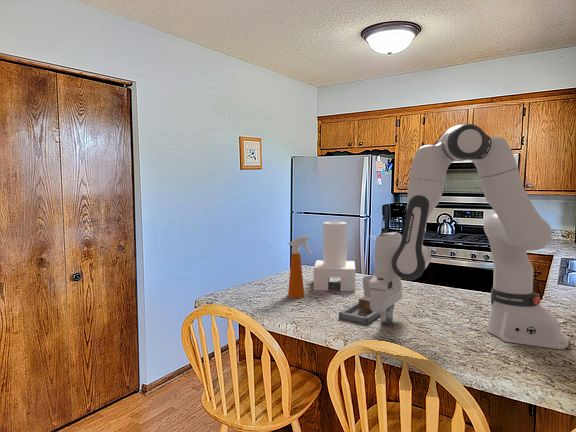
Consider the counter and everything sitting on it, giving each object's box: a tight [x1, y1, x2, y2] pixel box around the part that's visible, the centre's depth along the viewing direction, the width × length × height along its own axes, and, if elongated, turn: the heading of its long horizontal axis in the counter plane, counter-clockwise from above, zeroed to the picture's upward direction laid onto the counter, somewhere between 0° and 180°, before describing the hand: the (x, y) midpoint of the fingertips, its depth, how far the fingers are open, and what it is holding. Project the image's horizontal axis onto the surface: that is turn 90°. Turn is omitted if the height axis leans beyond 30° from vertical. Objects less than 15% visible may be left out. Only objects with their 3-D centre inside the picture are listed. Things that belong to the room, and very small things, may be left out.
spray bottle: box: [287, 235, 313, 299], centre depth 169 cm, size 7×11×26 cm, turn 71°
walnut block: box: [358, 295, 372, 314], centre depth 148 cm, size 4×4×5 cm
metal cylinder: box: [380, 306, 394, 327], centre depth 137 cm, size 4×4×6 cm
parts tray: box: [338, 301, 381, 326], centre depth 145 cm, size 11×16×2 cm
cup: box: [362, 275, 373, 297], centre depth 161 cm, size 8×8×10 cm
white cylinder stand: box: [313, 221, 356, 292], centre depth 187 cm, size 19×19×30 cm
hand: (386, 318), depth 137 cm, fingers closed on metal cylinder, 4 cm apart
